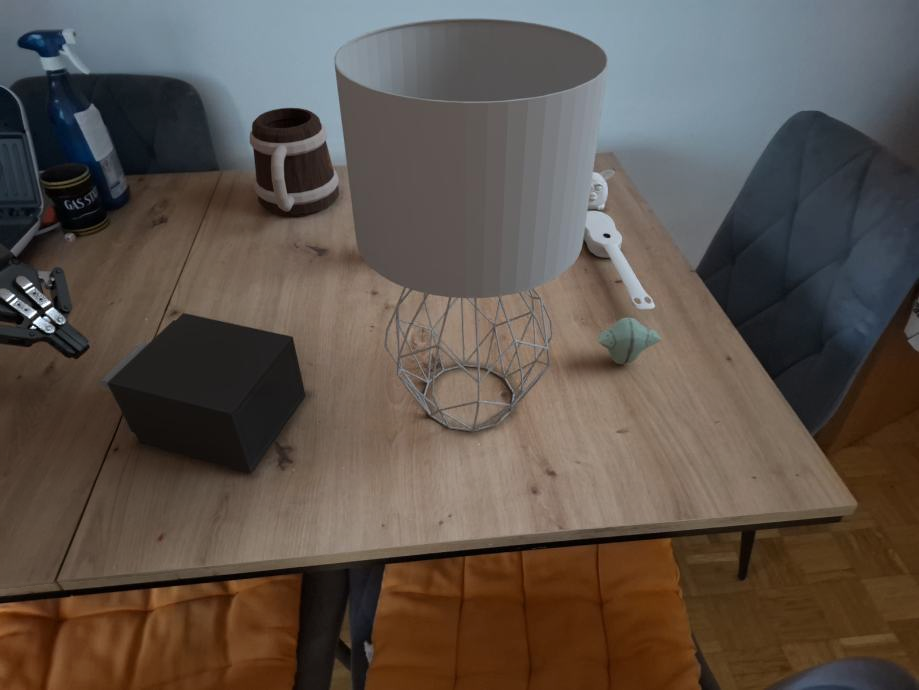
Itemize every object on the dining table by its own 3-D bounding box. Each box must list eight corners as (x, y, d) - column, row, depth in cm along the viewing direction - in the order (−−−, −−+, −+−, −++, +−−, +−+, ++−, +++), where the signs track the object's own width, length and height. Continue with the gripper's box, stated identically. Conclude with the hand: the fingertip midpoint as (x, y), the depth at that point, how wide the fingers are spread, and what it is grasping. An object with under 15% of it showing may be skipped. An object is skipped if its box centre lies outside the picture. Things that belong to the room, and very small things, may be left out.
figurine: (569, 213, 113) (573, 179, 109) (561, 196, 118) (565, 162, 114) (613, 211, 114) (619, 176, 110) (603, 194, 119) (608, 160, 114)
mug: (267, 180, 123) (250, 102, 113) (345, 179, 123) (335, 101, 113) (242, 234, 108) (220, 149, 98) (331, 233, 108) (318, 148, 98)
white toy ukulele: (662, 322, 90) (667, 306, 88) (623, 325, 89) (626, 309, 87) (604, 222, 111) (607, 208, 109) (572, 224, 110) (574, 209, 108)
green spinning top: (594, 373, 82) (602, 332, 77) (588, 352, 85) (595, 312, 80) (656, 371, 82) (667, 330, 78) (647, 350, 85) (657, 310, 81)
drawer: (100, 423, 74) (73, 374, 69) (162, 360, 82) (143, 313, 77) (233, 460, 70) (216, 410, 65) (285, 390, 78) (273, 341, 73)
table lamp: (338, 404, 77) (276, 58, 51) (456, 317, 90) (455, 6, 64) (482, 503, 66) (496, 128, 40) (593, 388, 80) (658, 48, 53)
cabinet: (139, 443, 73) (109, 383, 66) (204, 371, 82) (183, 312, 76) (251, 474, 69) (230, 414, 63) (306, 396, 78) (293, 336, 72)
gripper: (-7, 236, 78) (111, 332, 83) (-109, 297, 69) (32, 401, 74) (7, 203, 73) (132, 307, 79) (-100, 264, 64) (49, 378, 69)
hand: (83, 353), depth 76 cm, fingers closed
